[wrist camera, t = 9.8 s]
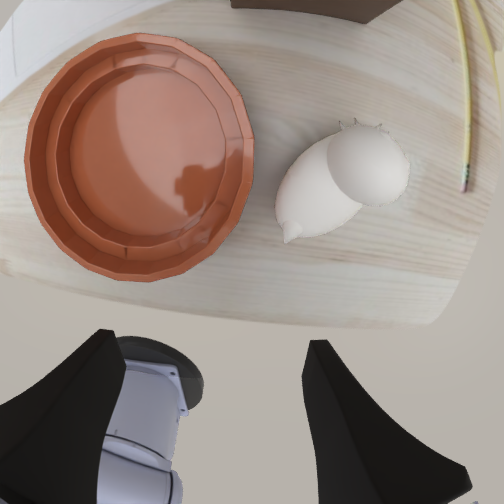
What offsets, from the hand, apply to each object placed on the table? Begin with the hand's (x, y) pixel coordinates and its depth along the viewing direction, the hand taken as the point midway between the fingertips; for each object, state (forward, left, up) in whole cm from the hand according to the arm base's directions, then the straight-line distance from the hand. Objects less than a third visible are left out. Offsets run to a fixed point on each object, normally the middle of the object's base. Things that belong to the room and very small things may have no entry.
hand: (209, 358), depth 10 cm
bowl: (+6, +5, -9) cm, 12 cm away
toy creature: (+5, -6, -10) cm, 12 cm away
